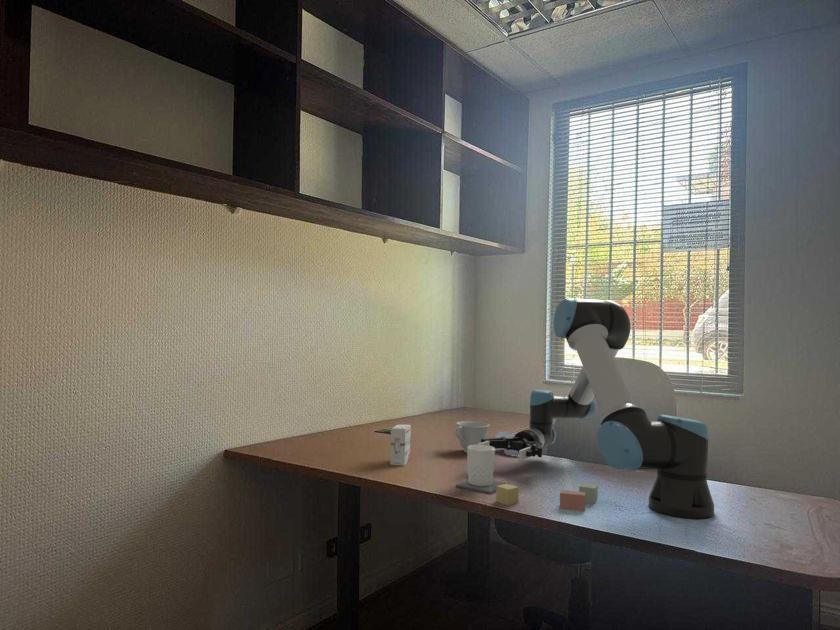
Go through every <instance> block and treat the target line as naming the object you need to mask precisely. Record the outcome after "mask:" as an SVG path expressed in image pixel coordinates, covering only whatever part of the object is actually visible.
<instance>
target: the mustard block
mask: <svg viewBox="0 0 840 630" xmlns="http://www.w3.org/2000/svg"><path fill="white" fill-rule="evenodd" d="M519 489H520V488H519V486H516V485H512V484H510V483H509V484H503V485H499V486H496V492H495V493H496V495H495V502H497V503H500V504H503V505H505V506H511V505H515V504H518V503H519V492H520V491H519Z"/></svg>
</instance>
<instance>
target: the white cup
mask: <svg viewBox="0 0 840 630" xmlns="http://www.w3.org/2000/svg"><path fill="white" fill-rule="evenodd" d="M466 456H467V457H466V459H467V464H466V465H467V466H466V467H467V477H468V479H467V480H468V483H469V484H471V485H475V486H489V485H491V484H492V480H493V479H494V477H493V475H494V470H495V456H496V449H495V448H494V447H492V446H488V445H470V446H467V453H466Z"/></svg>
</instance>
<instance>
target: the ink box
mask: <svg viewBox="0 0 840 630" xmlns="http://www.w3.org/2000/svg"><path fill="white" fill-rule="evenodd" d="M411 433H412V425H411V424H396V425H394V426H393V427H392V428H391V429H390V455H389V456H390V457H389V460H390V461H389V465H390V466H399V467H403V466H404V467H405V465H407V463H409V462H410V461H411Z"/></svg>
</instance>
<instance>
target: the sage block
mask: <svg viewBox="0 0 840 630" xmlns="http://www.w3.org/2000/svg"><path fill="white" fill-rule="evenodd" d="M598 489H599V484H593V483H585V482H582V483H581V484H580V485H579V488H578V490H579V491H578V492H585V504H593V505H595V504H596V503H597V501H598V492H599V491H598Z"/></svg>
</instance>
